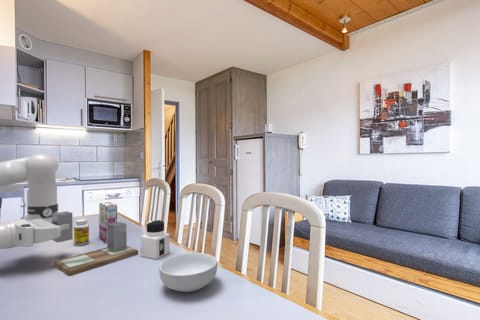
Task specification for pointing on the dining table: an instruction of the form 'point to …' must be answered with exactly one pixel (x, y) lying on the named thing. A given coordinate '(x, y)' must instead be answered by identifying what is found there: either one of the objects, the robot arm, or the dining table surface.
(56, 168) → the robot arm
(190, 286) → the cereal bowl
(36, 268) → the dining table surface
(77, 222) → the supplement bottle
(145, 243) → the container
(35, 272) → the dining table surface
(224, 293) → the dining table surface
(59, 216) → the loose billet
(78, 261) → the wooden board
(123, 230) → the billet
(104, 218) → the candy bar box
